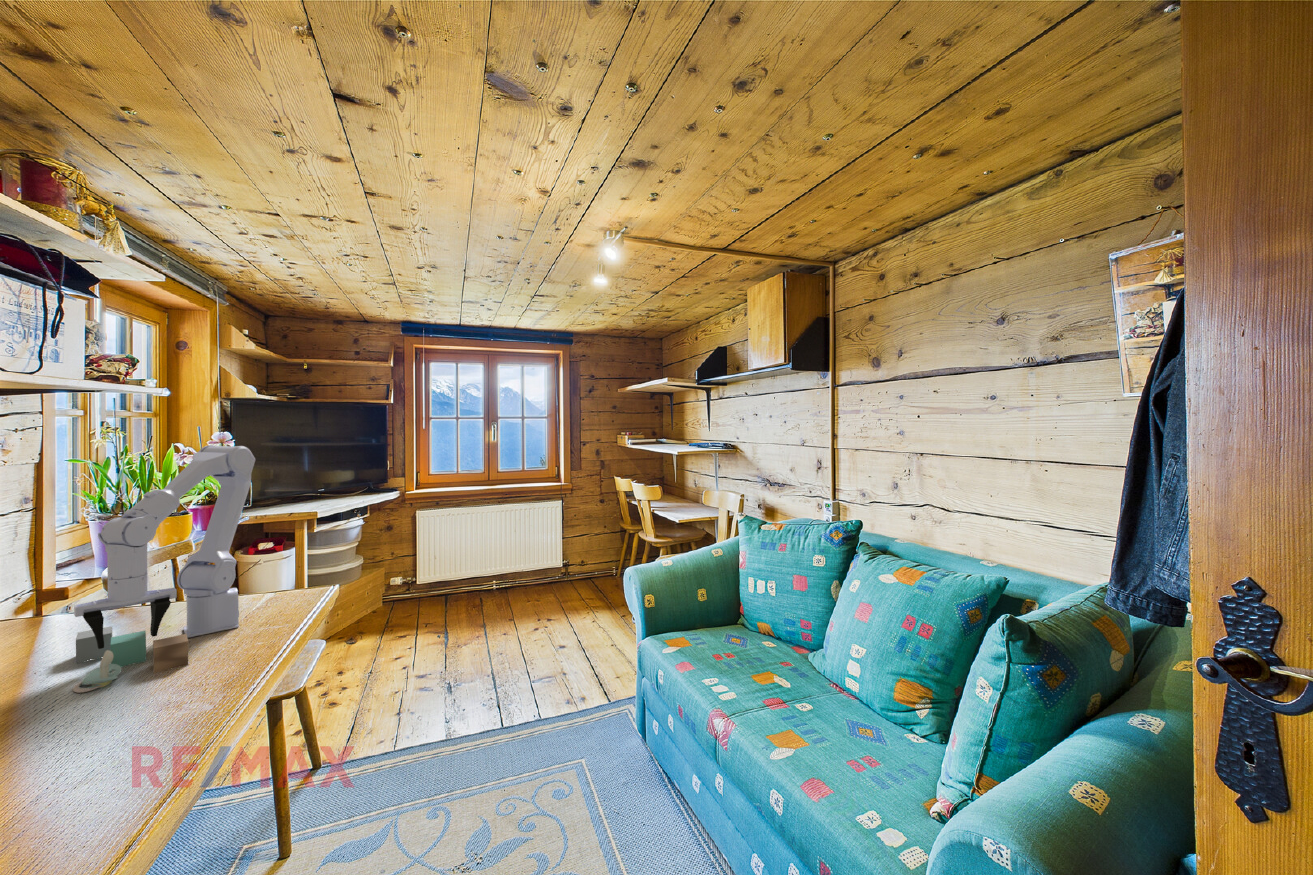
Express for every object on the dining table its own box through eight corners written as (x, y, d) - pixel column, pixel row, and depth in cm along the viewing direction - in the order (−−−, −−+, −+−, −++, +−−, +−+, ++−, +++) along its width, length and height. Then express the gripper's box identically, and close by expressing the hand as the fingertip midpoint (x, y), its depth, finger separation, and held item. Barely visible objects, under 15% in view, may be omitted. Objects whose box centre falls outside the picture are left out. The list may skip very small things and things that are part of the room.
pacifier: (68, 699, 91) (116, 687, 95) (66, 665, 91) (114, 655, 95) (78, 683, 97) (123, 672, 101) (75, 650, 97) (121, 641, 101)
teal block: (145, 653, 109) (145, 630, 109) (146, 661, 106) (145, 637, 105) (111, 661, 106) (111, 637, 105) (110, 669, 102) (110, 644, 102)
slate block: (112, 648, 111) (112, 626, 111) (111, 656, 108) (111, 632, 107) (77, 655, 108) (77, 632, 107) (76, 664, 104) (75, 639, 104)
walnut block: (186, 657, 108) (186, 633, 108) (188, 665, 104) (188, 640, 104) (153, 664, 104) (153, 640, 104) (154, 673, 101) (153, 648, 101)
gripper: (171, 564, 113) (171, 625, 114) (72, 579, 102) (72, 647, 102) (178, 570, 109) (178, 633, 109) (76, 586, 97) (76, 657, 98)
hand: (128, 640), depth 105 cm, fingers open, 7 cm apart
